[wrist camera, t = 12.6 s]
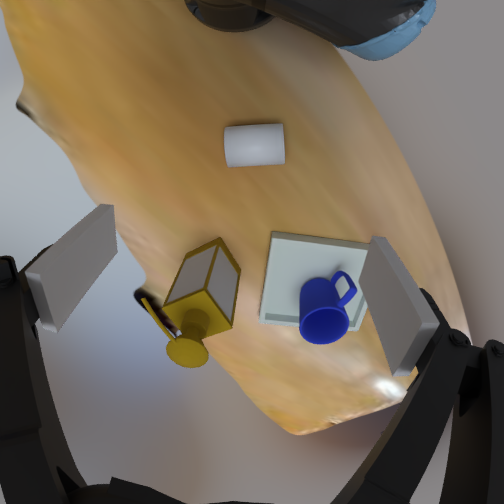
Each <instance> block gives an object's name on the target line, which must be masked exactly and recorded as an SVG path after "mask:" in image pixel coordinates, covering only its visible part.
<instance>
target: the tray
mask: <svg viewBox="0 0 504 504" xmlns="http://www.w3.org/2000/svg"><path fill="white" fill-rule="evenodd" d="M369 245H370V244H366V243H359V242H351V241H344V240H337V239H329V238H322V237H314V236H307V235H299V234H291V233H283V232H275V231H272V235H271V242H270V248H269V255H268V261H267V268H266V274H265V280H264V287H263V293H262V299H261V305H260V311H259V323H264V324H274V325H284V326H295V327H299V298H300V292H301V289H302V287H303V286H304V285H305V284H306V283H307V282H308V281H310V280H312V279H316V278H323V279H326V280H329V281H331V278H332V277H333V275H334V274H335V273H336V272H337V271H344V272H346V273H347V274H348V275H349V276H350V277H351V279H352V280H353V282H354V284H355V286H356V288H357V290H358V291H357V293H356V294H355V296H354V297H353V298H352V299H351V300H350V301H349V302H348V303H347V304H346V305H345V306H344V308H345V310H346V312H347V315H348V317H349V328H348V330H347V331H358V329H359V327H360V325H361V322H362V320H363V317H364V315H365V312H366V310H367V307H368V305H367V303H366V300H365V298H364V295H363V293H362V290H361V288H360V285H359V283H358V280H359V277H360V274H361V271H362V268H363V265H364V261H365V258H366V255H367V252H368V248H369ZM335 287H336V289H337V291H338V294H339V296H340V298H342V297H343V296H344V295H345V293H346V292H347V291H348V290H349V285H348V283H347V281H346V279H345V277H344V276H342V277H340V278H339V280H338V281H337V282H336V284H335Z"/></svg>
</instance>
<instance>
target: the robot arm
mask: <svg viewBox="0 0 504 504" xmlns="http://www.w3.org/2000/svg"><path fill="white" fill-rule="evenodd" d="M185 3H186V5H187V7H188V9H189V11H190V12H191V13H192V14H193V15H194V16H195V17H196V18H197V19H198V20H199V21H200V22H202V23H203V24H205V25H206V26H208V27H210V28H213V29H216V30H219V31H224V32H244V31H249V30H253V29H256V28H258V27H261V26H263V25H265V24H267V23H268V22H270V21H271V20H272V19H274V18H275V17H279V18H281V19H283V20H286V21H288V22H290V23H292V24H295V25H297V26H299V27H301V28H303V29H305V30H307V31H309V32H312V33H314V34H316V35H318V36H320V37H321V38H323V39H325V40H327V41H329V42H331V43H332V44H333V45H334V46H336V47H337V48H340V49H345V50H347V51H349V52H351V53H353V54H355V55H357V56H359V57H361V58H363V59H366V60H372V61H377V60H383V59H386V58H388V57H391V56H393V55H394V54H396V53H398V52H399V51H401V50H402V49H403V48H405V47H406V46H408V45H409V44H410V43H411V42H412V41H413V40H414V39H415V38H416V37H417V36H418V35H419V34H420V33H421V28H422V27H424V26H425V25H427V24H428V23H429V21H430V19H431V18H432V16H433V14H434V12H435V9H436V0H185ZM116 254H117V242H116V230H115V218H114V205H108V204H100V205H99V206H98V207H97V208H95V209H94V210H93V211H92V212H90V213H89V214H88V215H87V216H86V217H84V218H83V219H82V220H81V221H80V222H78V223H77V224H76V225H75V226H74V227H73V228H71V229H70V230H69V231H68V232H67V233H66V234H65V235H63V236H62V237H61V238H60V239H59V240H58V241H57V242H56V243H54V244H52V245H50V246H48V247H46V248H44V249H43V250H42V251H41V252H40V253H38V255H37V256H35V257H34V258H33V259H32V261H30V262H29V263H28V264H27V265H26V266H25V267H24V268H23V269H22V270H21V271H19V272H17V268H16V264H15V260H14V258H13V257H11V256H0V484H1V488H2V491H3V495H4V498H5V502H6V504H186V503H183V502H181V501H179V500H176V499H174V498H172V497H169V496H167V495H165V494H163V493H161V492H158V491H156V490H154V489H152V488H150V487H147V486H143V485H139V484H135V483H132V482H128V481H124V480H121V479H118V478H114V477H112V478H111V481H110V484H97V485H90V486H87V484H86V482H85V481H84V479H83V477H82V476H81V474H80V473H79V471H78V469H77V467H76V465H75V462H74V460H73V457H72V455H71V452H70V450H69V447H68V445H67V441H66V439H65V436H64V433H63V430H62V427H61V424H60V421H59V418H58V415H57V412H56V409H55V405H54V401H53V398H52V395H51V391H50V387H49V383H48V379H47V376H46V371H45V366H44V362H43V357H42V352H41V348H40V342H39V337H38V331H37V328H36V325H35V323H36V321H37V320H38V319H39V318H40V321H41V323H42V326H43V328H44V329H46V330H50V331H53V332H57V333H58V332H59V330H60V328H61V327H62V326H63V324H64V323H65V321H66V320H67V318H68V317H69V316H70V314H71V313H72V312H73V310H74V309H75V307H76V306H77V305H78V303H79V302H80V300H81V299H82V298H83V296H84V295H85V294H86V292H87V291H88V290H89V288H90V287H91V286H92V284H93V283H94V282H95V280H96V279H97V278H98V276H99V275H100V274H101V273H102V271H103V270H104V269H105V267H106V266H107V265H108V263H109V262H110V261H111V260H112V258H113V257H114V256H115V255H116ZM358 283H359V285H360V288H361V290H362V293H363V295H364V298H365V300H366V303H367V305H368V308H369V311H370V313H371V316H372V319H373V321H374V324H375V327H376V330H377V332H378V335H379V338H380V341H381V343H382V346H383V349H384V352H385V355H386V358H387V361H388V364H389V367H390V370H391V373H392V376H409V375H410V373H411V372H412V370H413V369H414V367H415V365H416V367H417V370H418V372H419V373H418V374H417V376H416V377H415V379H414V380H413V382H412V383H411V385H410V386H409V388H408V389H407V391H408V392H407V394H406V396H405V397H404V399H403V401H402V403H401V404H400V406H399V408H398V409H397V411H396V413H395V415H394V416H393V418H392V419H391V421H390V423H389V424H388V426H387V427H386V429H385V431H384V432H383V434H382V435H381V437H380V438H379V440H378V441H377V443H376V444H375V446H374V447H373V449H372V450H371V452H370V453H369V455H368V456H367V457H366V459H365V460H364V461H363V463H362V464H361V466H360V467H359V468H358V470H357V471H356V472H355V474H354V475H353V476H352V478H351V479H350V480H349V481H348V483H347V484H346V485H345V487H344V488H343V489H342V490H341V492H340V493H339V494H338V495H337V496H336V498H335V499H334V500H333V501H332V502H331V503H330V504H410V503H409V502H410V499H411V497H412V495H413V493H414V491H415V489H416V488H417V486H418V484H419V482H420V480H421V478H422V476H423V474H424V472H425V470H426V468H427V466H428V464H429V462H430V460H431V458H432V456H433V454H434V452H435V449H436V447H437V445H438V443H439V440H440V438H441V436H442V433H443V431H444V428H445V426H446V423H447V421H448V418H449V415H450V413H451V410H452V408H453V405H454V408H453V421H452V431H451V439H450V447H449V454H448V461H447V467H446V473H445V478H444V483H443V488H442V493H441V497H440V502H439V504H504V344H503V343H501V342H499V341H496V340H489V341H487V343H486V344H485V346H484V347H483V348H480V347H476V346H472V345H471V342H470V340H469V338H468V337H467V336H466V335H465V334H464V333H462V332H461V331H459V330H457V329H452V328H450V326H449V324H448V322H447V321H446V319H445V317H444V316H443V314H442V312H441V311H439V308H438V306H437V304H436V303H435V301H434V300H433V298H432V296H431V295H430V294H429V293H428V292H427V291H425V290H424V289H423V288H418V286H417V284H416V283H415V281H414V280H413V278H412V276H411V275H410V273H409V272H408V270H407V269H406V267H405V266H404V264H403V263H402V261H401V260H400V258H399V257H398V255H397V254H396V252H395V251H394V249H393V248H392V246H391V245H390V243H389V242H388V240H387V239H386V238H385V237H378V236H372V238H371V242H370V245H369V248H368V252H367V255H366V258H365V261H364V265H363V268H362V271H361V274H360V277H359V280H358ZM209 504H271V503H249V502H238V501H230V502H220V503H209Z"/></svg>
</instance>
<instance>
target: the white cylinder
mask: <svg viewBox="0 0 504 504" xmlns="http://www.w3.org/2000/svg"><path fill="white" fill-rule="evenodd" d="M224 148H225V157H226V162H227V166H228V167H243V166H259V165H280V164H285V149H284V133H283V124H282V123H277V124H258V125H243V126H231V127H225V131H224Z"/></svg>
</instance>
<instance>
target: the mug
mask: <svg viewBox="0 0 504 504" xmlns="http://www.w3.org/2000/svg"><path fill="white" fill-rule="evenodd" d="M342 276H344V277H345V279H346V281H347V283H348V285H349V290H348V291H347V292H346V293H345V295H344V296H343V297H342V298H340V296H339V294H338V291H337V289H336V287H335V284H336V282H337V281H338V280H339V278H340V277H342ZM357 291H358V290H357V288H356V286H355V284H354V282H353V280H352V279H351V277H350V276H349V275H348V274H347V273H346V272H344V271H337V272H336V273H335V274H334V275H333V277H332V278H331V281H329V280H326V279H323V278H316V279H312V280H310V281H308V282H307V283H306V284H305V285H304V286H303V287H302V289H301V292H300V298H299V330H300V334H301V335H302V337H303V338H304V339H305V340H307V341H308V342H310V343H313V344H329V343H332V342H335V341H337V340H338V339H340V338H341V337H342V336H343V335H344V334H345V333H346V332H347V330H348V328H349V317H348V315H347V312H346V310H345V308H344V306H345V305H346V304H347V303H348V302H349V301H350V300H351V299H352V298H353V297H354V296H355V294H356V293H357Z"/></svg>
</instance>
